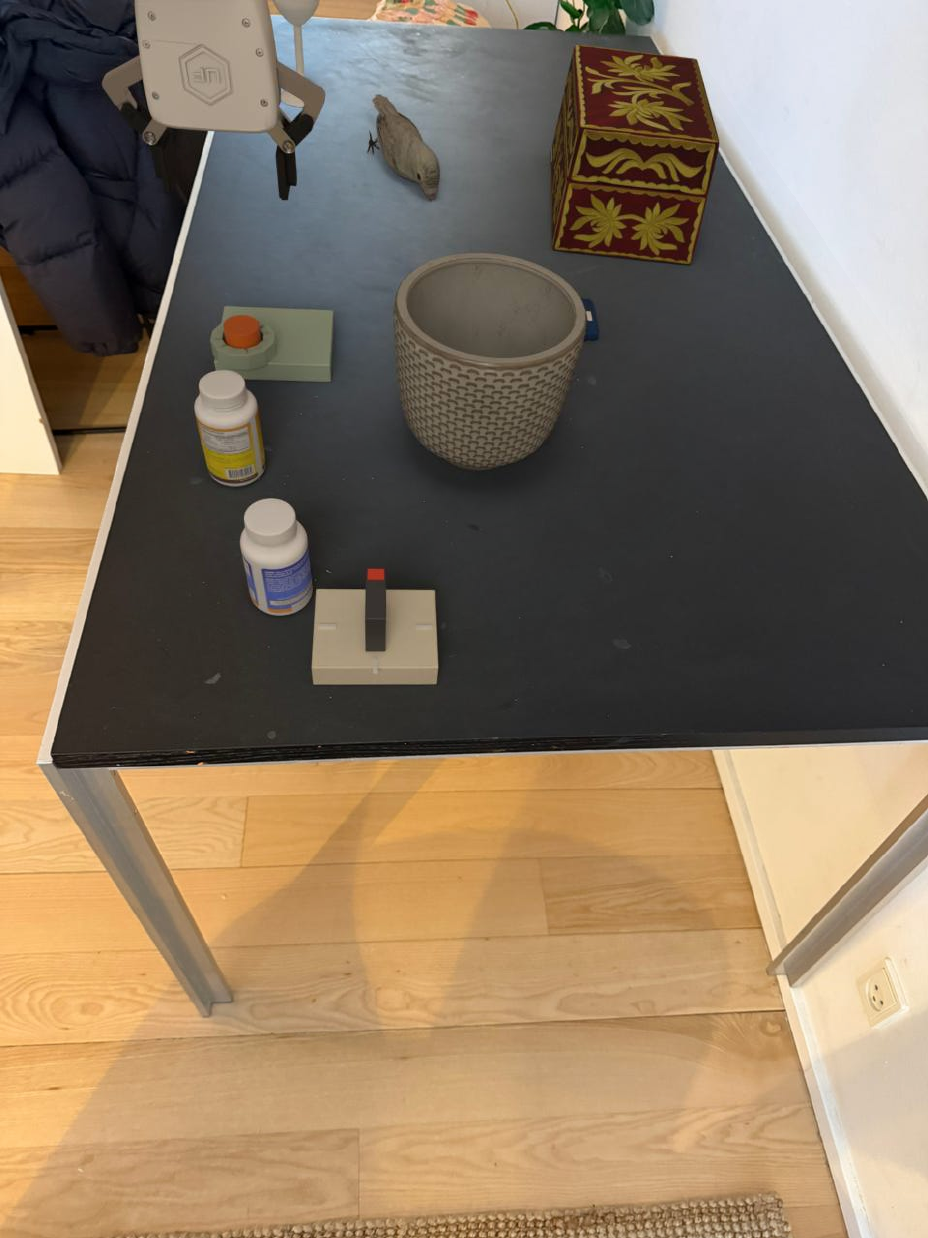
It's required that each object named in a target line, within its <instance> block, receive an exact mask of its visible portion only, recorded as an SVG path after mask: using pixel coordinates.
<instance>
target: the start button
mask: <svg viewBox="0 0 928 1238" xmlns="http://www.w3.org/2000/svg"><path fill="white" fill-rule="evenodd" d="M223 327H224V333H225V339H226V343H227V344H228V345H229V346H231V347H233V348H241V349H247V348H250V347H254V346H257V345H258V344H259V343H260V341H261V335H260V327H259V323H258V321H257V320H256V319H255V318H253V317H251V316H247V315H237V316H233V317H230V318H228V319H227V320H226V321H225V322H224V326H223Z"/></svg>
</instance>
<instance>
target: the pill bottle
mask: <svg viewBox="0 0 928 1238" xmlns="http://www.w3.org/2000/svg"><path fill="white" fill-rule="evenodd" d="M243 522H244V523H243V524H244V528H243V529H242V531H241V534H240V538H239V547H240V553H241V557H242V561H243V566H244V567H243V568H244V571H245V576H246V577H245V578H246V581H247V586H248V593H249V596H250V598H251V601H252V603H253V604H254V605H255V607H257V609H258V610H260V611H261V612H263V613H265V614H268V615H271V616H279V617H280V616H289V615H292V614H295V613H297V612H299V611H301V610H302V609H304V608H305V607H306V606H307V605H308V604H309V602H310V601H311V599H312V596H313V593H314V592H313V591H314V585H313V584H314V583H313V575H312V568H311V559H310V548H309V540H308V534H307V532H306V529H305V528H304V526H303V525H302V524H301V523H300V522H299V521H298V520H297V515H296V511H295V510H294V508H293V506H291V504H290V503H288V502H287V501H284V500H282V499H279V498H274V497H273V498H270V497H269V498H263V499H259V500H257V501H255V502H253V503H252V504H251V505H250V506H248V507H247V509H246V510H245V512H244V514H243Z"/></svg>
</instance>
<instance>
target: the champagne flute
mask: <svg viewBox="0 0 928 1238" xmlns="http://www.w3.org/2000/svg"><path fill="white" fill-rule="evenodd" d="M272 3H273V5H274V7H275V8H276V10H277V12H278V13H279V15H281V17H283V18H284V19H285V20H286V22H287V23H289V24H290V25H291V26H293V41H294V42H293V43H294V57H295V72H297V73H299V74H300V75H302V76H303V77H305V65H304V61H305V60H304V47H303V27H302V26H303V25H305V24H307V22H309V20H310V19H311V18H312V17H313V16H314V15H315V14H316V11H317V9H318V8H319V5H320V0H272ZM281 102H283V103H284V104H286V105H289V106H291V107H295V108H296V107H297V108H303V107H304V103H303V101H302V100H301V99H299V98H297V97H296V96H294V95H292V94H291V93H289V92H287V91H286V90H283V92H282V91H281Z"/></svg>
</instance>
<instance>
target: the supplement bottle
mask: <svg viewBox="0 0 928 1238" xmlns="http://www.w3.org/2000/svg"><path fill="white" fill-rule="evenodd" d="M198 389H199V395H198V396H197V397H196V398H195V402H194V406H193V407H194V415H195V419H196V424H197V428H198V434H199V438H200V442H201V446H202V447H201V448H202V451H203V455H204V460H205V461H204V462H205V464H206V468H207V472H208V474H209V475H210V477H211V478H212V479H213V480H214V481H216V482H217V483H218V484H221V485H224V486H227V487H243V486H247V485H249V484H252V483H254V482H256V481H257V480H258V479H259V478H260V477H262V475H263V474H264V473H265V469H266V455H265V448H264V442H263V441H264V440H263V435H262V434H263V433H262V427H261V420H260V412H259V406H258V400H257V398H256V397H255V395H254V394H253V393H252V391H250V390H249V389H247V385H246V381H245V379H243V377H242V376H241V375H239V374H238V373H236V372H233V371H229V370H217V371H216V370H213V371H210V372H208V373H206V374H205V375H203V376H202V378H201V379H200V380H199V383H198Z"/></svg>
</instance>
